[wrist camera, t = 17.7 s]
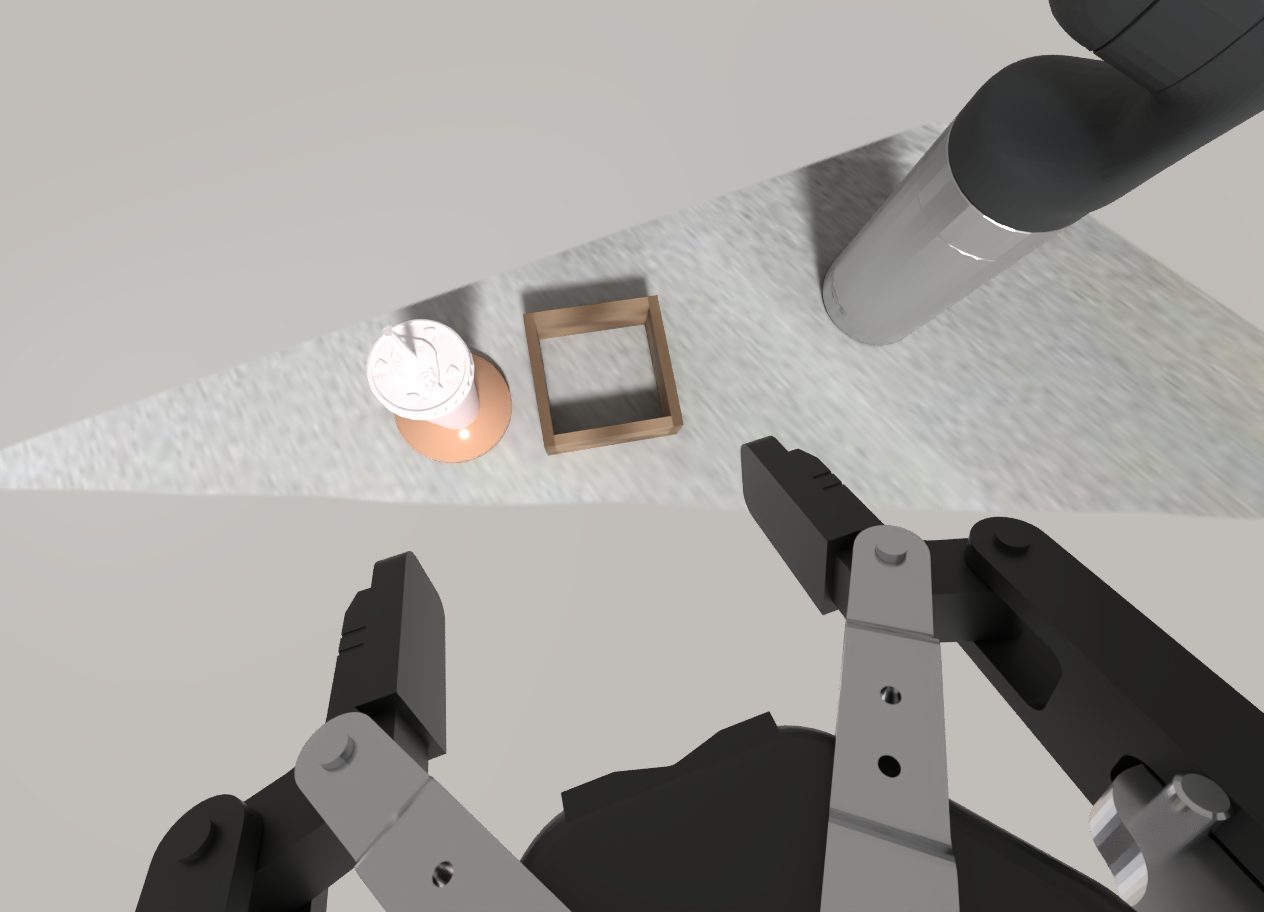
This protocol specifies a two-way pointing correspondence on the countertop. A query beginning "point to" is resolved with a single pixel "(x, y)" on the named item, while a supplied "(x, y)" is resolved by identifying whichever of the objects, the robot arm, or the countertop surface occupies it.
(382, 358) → the smoothie
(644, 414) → the countertop surface
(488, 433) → the peach glossy dome
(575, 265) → the countertop surface
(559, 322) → the crate
